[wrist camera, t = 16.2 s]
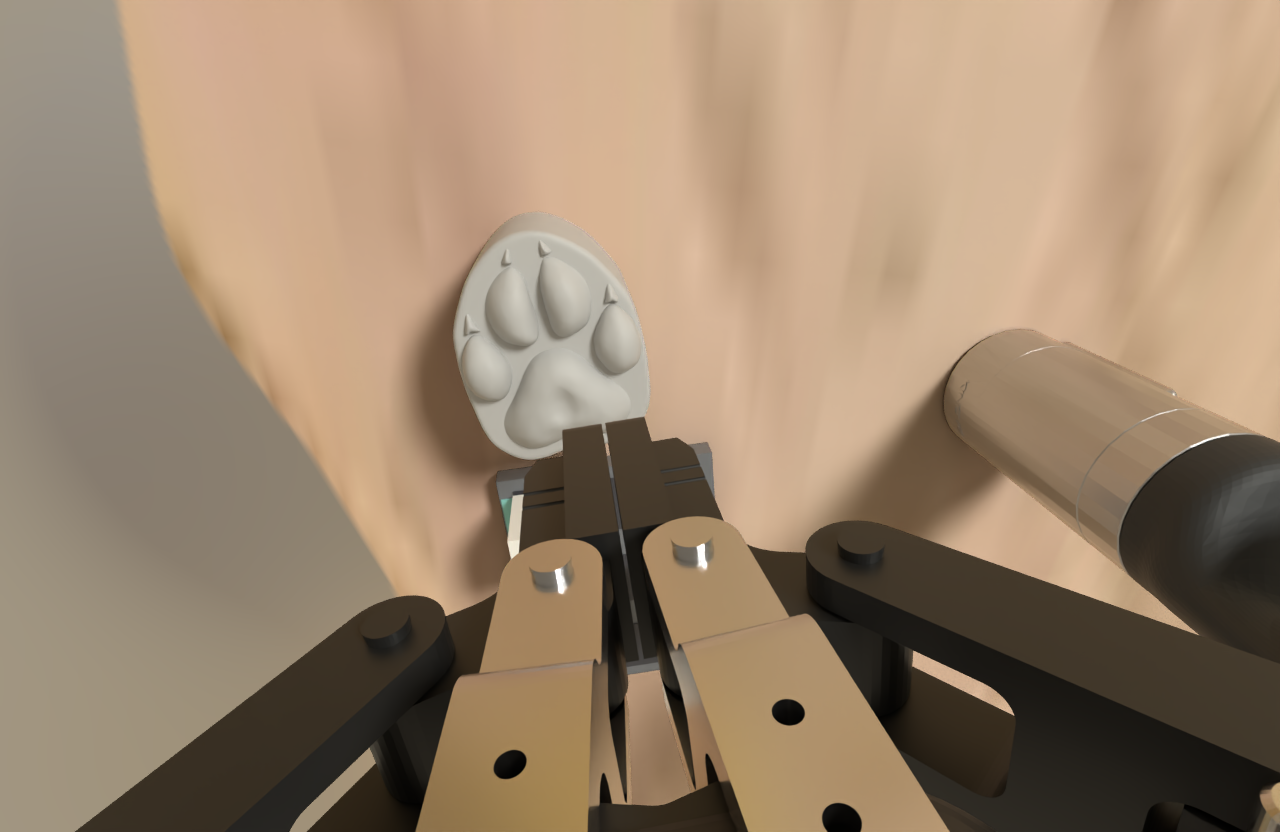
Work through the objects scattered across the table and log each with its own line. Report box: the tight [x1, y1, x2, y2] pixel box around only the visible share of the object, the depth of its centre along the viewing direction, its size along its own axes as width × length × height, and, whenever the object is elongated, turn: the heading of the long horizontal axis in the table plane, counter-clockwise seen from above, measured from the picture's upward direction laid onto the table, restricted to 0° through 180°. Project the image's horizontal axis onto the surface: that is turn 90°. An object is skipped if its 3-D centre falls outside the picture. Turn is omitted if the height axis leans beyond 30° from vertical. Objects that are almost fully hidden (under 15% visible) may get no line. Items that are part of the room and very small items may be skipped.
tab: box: [507, 495, 524, 559], centre depth 45 cm, size 4×4×6 cm
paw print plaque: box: [453, 212, 650, 460], centre depth 40 cm, size 10×13×9 cm
